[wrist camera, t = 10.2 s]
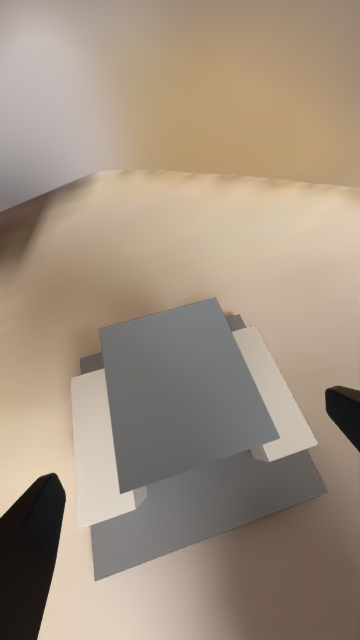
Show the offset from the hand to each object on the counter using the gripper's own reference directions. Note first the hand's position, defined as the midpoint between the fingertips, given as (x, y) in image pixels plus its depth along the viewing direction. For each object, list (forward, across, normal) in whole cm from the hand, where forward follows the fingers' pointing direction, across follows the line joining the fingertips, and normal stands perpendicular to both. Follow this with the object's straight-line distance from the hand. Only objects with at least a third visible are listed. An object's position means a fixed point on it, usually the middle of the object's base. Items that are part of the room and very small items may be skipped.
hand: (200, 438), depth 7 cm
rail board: (+9, 0, +6) cm, 11 cm away
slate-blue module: (+8, 0, +6) cm, 10 cm away
